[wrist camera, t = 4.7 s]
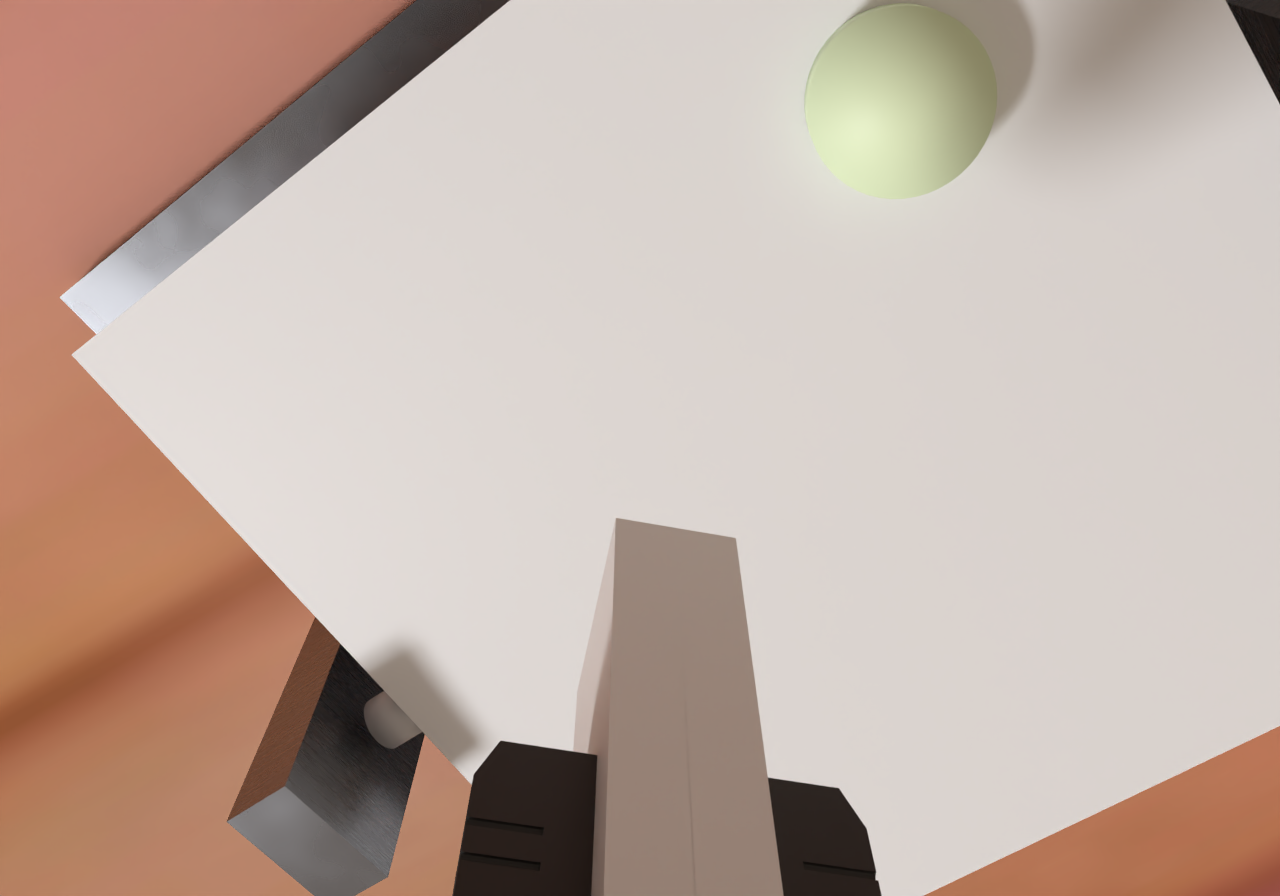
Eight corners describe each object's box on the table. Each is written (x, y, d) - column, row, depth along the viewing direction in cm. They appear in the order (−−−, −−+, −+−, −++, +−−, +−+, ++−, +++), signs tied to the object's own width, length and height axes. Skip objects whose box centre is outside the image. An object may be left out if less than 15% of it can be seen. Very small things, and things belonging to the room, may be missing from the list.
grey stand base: (77, 282, 29) (-176, 482, 20) (1037, -516, 22) (1295, -747, 13) (618, 828, 37) (606, 1142, 28) (1454, 378, 30) (1790, 611, 21)
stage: (67, 362, 24) (14, 397, 22) (1055, -435, 18) (1093, -476, 16) (650, 986, 30) (645, 1055, 28) (1552, 546, 24) (1622, 598, 22)
